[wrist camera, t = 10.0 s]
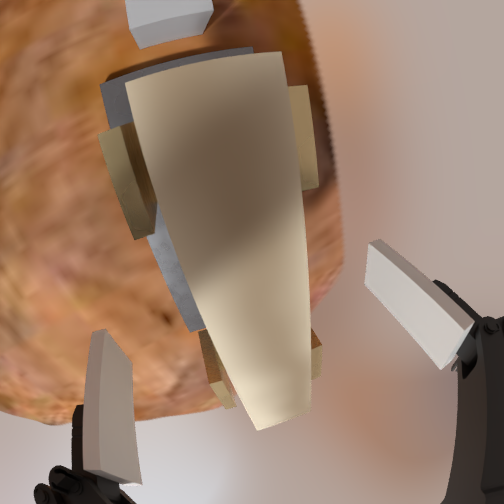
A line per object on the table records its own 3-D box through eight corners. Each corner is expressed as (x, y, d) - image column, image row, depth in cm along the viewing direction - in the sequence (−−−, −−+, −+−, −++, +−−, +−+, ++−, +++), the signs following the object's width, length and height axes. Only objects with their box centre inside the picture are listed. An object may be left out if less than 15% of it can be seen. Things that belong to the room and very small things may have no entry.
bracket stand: (189, 326, 30) (210, 433, 19) (102, 85, 16) (18, 64, 4) (287, 294, 31) (344, 386, 20) (249, 48, 17) (343, -4, 6)
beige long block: (237, 372, 20) (257, 430, 16) (145, 94, 10) (124, 83, 5) (284, 356, 21) (310, 411, 16) (234, 73, 10) (280, 51, 6)
